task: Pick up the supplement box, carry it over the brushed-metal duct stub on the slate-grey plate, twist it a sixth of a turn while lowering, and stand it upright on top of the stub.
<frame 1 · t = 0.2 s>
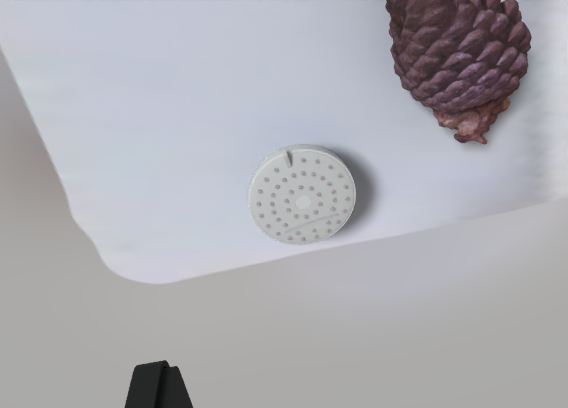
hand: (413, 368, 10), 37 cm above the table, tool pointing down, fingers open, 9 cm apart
showerhead: (294, 166, 48), on the table
pine cone: (433, 35, 43), on the table
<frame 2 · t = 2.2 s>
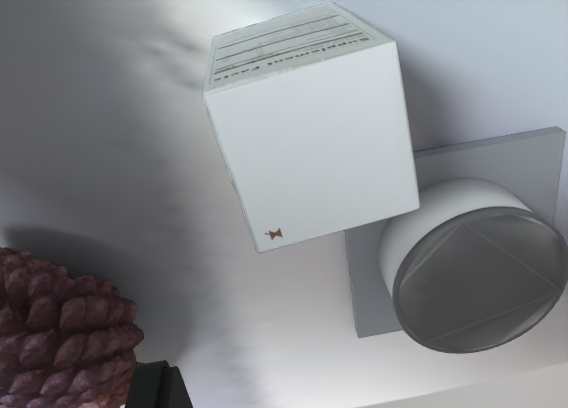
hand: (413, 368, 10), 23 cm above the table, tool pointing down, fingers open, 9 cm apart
duct stub: (446, 237, 37), on the table
pine cone: (67, 282, 36), on the table
supplement box: (286, 75, 30), on the table
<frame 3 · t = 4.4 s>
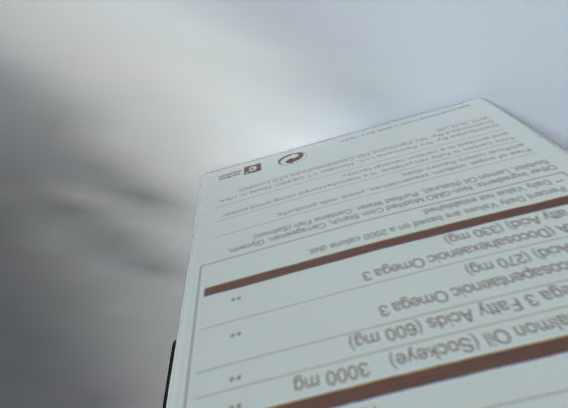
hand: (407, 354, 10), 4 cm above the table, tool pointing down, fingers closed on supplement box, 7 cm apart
supplement box: (361, 242, 14), on the table, touching gripper
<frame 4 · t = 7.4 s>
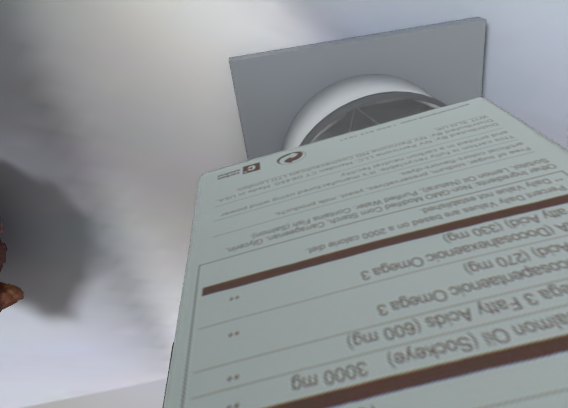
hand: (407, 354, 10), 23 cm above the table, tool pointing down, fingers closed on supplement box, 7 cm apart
duct stub: (361, 152, 33), on the table
supplement box: (361, 242, 14), point 18 cm above the table, touching gripper
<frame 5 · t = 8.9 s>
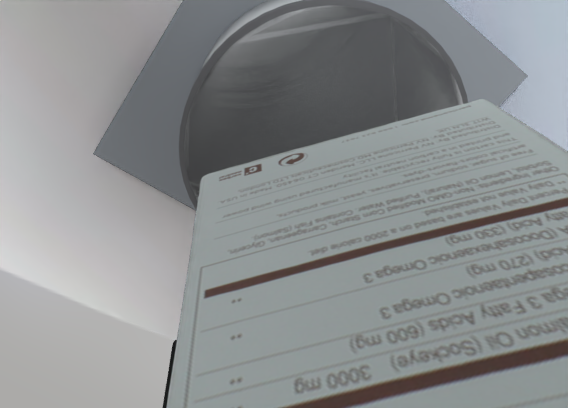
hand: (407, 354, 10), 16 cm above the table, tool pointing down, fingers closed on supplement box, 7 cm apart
duct stub: (307, 108, 24), on the table
supplement box: (362, 243, 14), point 12 cm above the table, touching gripper
when the fingers open (12 cm above the table, at t = 10.5 s): supplement box drops 2 cm, resting on duct stub.
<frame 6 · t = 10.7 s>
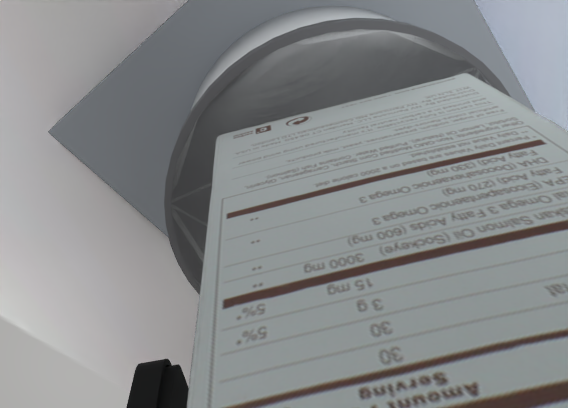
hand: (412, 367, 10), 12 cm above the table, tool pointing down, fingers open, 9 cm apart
duct stub: (321, 142, 21), on the table
supplement box: (357, 204, 15), point 6 cm above the table, touching duct stub
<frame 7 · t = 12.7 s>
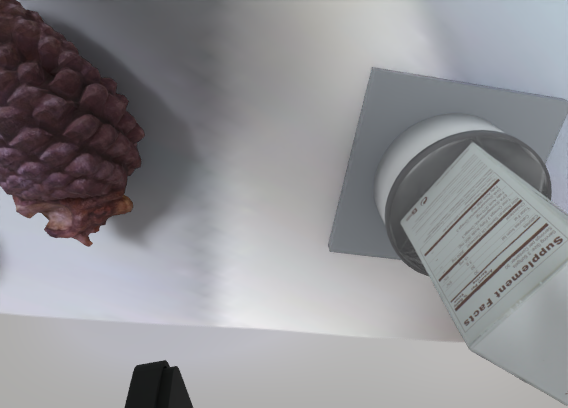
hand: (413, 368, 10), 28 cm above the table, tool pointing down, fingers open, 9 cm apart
duct stub: (439, 176, 39), on the table
pine cone: (75, 98, 35), on the table
supplement box: (469, 206, 34), point 6 cm above the table, touching duct stub
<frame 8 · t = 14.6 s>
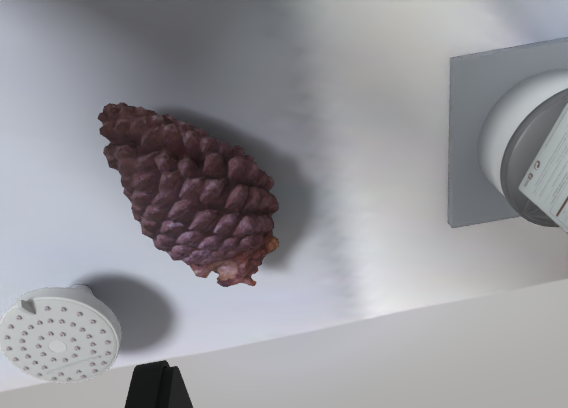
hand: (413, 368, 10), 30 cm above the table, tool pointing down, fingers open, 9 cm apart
duct stub: (536, 132, 41), on the table
showerhead: (79, 290, 45), on the table
pine cone: (203, 167, 40), on the table
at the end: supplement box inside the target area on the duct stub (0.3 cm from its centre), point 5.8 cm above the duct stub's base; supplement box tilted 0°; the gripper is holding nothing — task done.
